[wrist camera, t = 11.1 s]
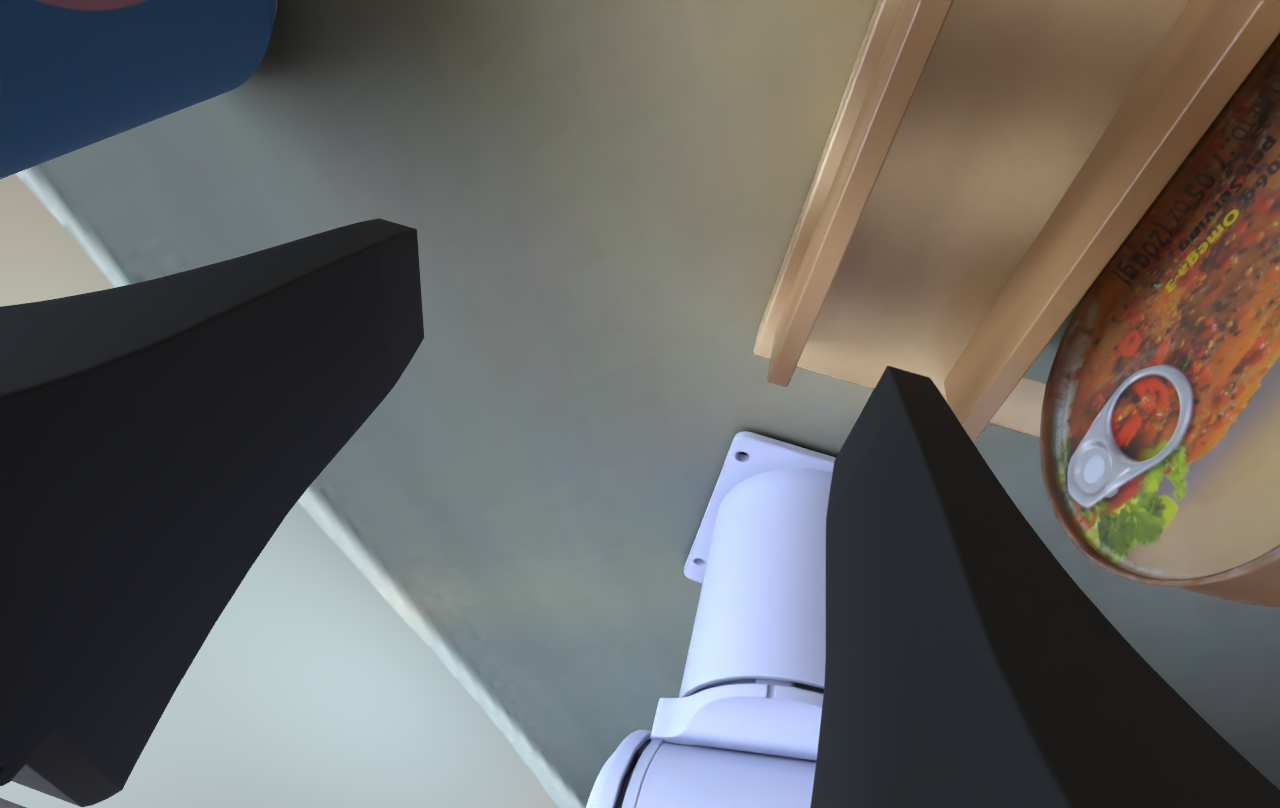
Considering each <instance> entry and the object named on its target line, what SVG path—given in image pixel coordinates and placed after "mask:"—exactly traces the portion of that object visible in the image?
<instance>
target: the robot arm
mask: <svg viewBox="0 0 1280 808" xmlns="http://www.w3.org/2000/svg"><path fill="white" fill-rule="evenodd" d="M423 339H424V329H423V314H422V300H421V285H420V270H419V256H418V241H417V229H414V228H410V227H407V226H403V225H400V224H396V223H393V222H390V221H386V220H383V219H374V220H369V221H364V222H359V223H355V224H351V225H347V226H344V227H340V228H336V229H333V230H329V231H326V232H323V233H319V234H316V235H312V236H309V237H306V238H302V239H299V240H296V241H292V242H289V243H285V244H282V245H279V246H275V247H272V248H269V249H265V250H262V251H258V252H255V253H252V254H248V255H245V256H241V257H238V258H234V259H231V260H227V261H223V262H219V263H215V264H211V265H208V266H204V267H200V268H196V269H192V270H188V271H185V272H181V273H177V274H173V275H169V276H165V277H162V278H158V279H153V280H149V281H145V282H140V283H136V284H131V285H127V286H122V287H117V288H113V289H107V290H102V291H97V292H91V293H86V294H80V295H75V296H70V297H64V298H59V299H53V300H47V301H41V302H34V303H26V304H19V305H11V306H4V307H0V786H3V785H5V784H7V783H9V782H10V781H13V782H16V783H19V784H21V785H24V786H27V787H29V788H32V789H35V790H37V791H40V792H43V793H46V794H48V795H51V796H54V797H56V798H59V799H62V800H64V801H67V802H70V803H72V804H75V805H78V806H81V807H85V806H90V805H93V804H96V803H98V802H100V801H103V800H105V799H108V798H109V797H111V796H113V795H114V794H116V793H118V792H119V791H121V790H122V789H123V787H124V785H125V783H126V781H127V779H128V777H129V775H130V774H131V772H132V770H133V768H134V766H135V764H136V762H137V760H138V758H139V756H140V754H141V752H142V751H143V749H144V747H145V745H146V743H147V742H148V740H149V738H150V736H151V734H152V732H153V730H154V729H155V727H156V725H157V723H158V721H159V719H160V718H161V716H162V714H163V712H164V710H165V708H166V707H167V705H168V703H169V701H170V699H171V697H172V696H173V694H174V692H175V690H176V688H177V687H178V685H179V683H180V682H181V679H182V678H183V677H184V675H185V673H186V671H187V670H188V668H189V666H190V665H191V663H192V661H193V659H194V658H195V656H196V655H197V653H198V651H199V649H200V648H201V646H202V644H203V643H204V641H205V639H206V638H207V636H208V634H209V633H210V631H211V629H212V628H213V626H214V624H215V622H216V621H217V619H218V618H219V616H220V615H221V613H222V612H223V610H224V608H225V606H226V605H227V604H228V602H229V601H230V599H231V597H232V596H233V594H234V593H235V591H236V590H237V588H238V586H239V585H240V583H241V582H242V580H243V579H244V577H245V575H246V574H247V572H248V571H249V569H250V568H251V566H252V565H253V563H254V562H255V560H256V559H257V557H258V556H259V554H260V553H261V551H262V550H263V549H264V547H265V546H266V544H267V542H268V541H269V540H270V538H271V537H272V535H273V534H274V532H275V531H276V530H277V528H278V527H279V525H280V524H281V522H282V521H283V519H284V518H285V516H286V515H287V514H288V512H289V511H290V509H291V508H292V507H293V506H294V504H295V503H296V502H297V501H298V499H299V498H300V497H301V496H302V494H303V493H304V492H305V490H306V489H307V488H308V487H309V486H310V484H311V483H312V482H313V481H314V480H315V479H316V478H317V476H318V475H319V474H320V473H321V472H322V471H323V469H324V468H325V467H326V466H327V465H328V464H329V462H330V461H331V460H332V459H333V458H334V457H335V455H336V454H337V453H338V452H339V451H340V450H341V448H342V447H343V446H344V445H345V444H346V443H347V441H348V440H349V439H350V438H351V437H352V436H353V435H354V433H355V432H356V431H357V430H358V429H359V428H360V426H361V425H362V424H363V423H364V422H365V421H366V419H367V418H368V417H369V416H370V415H371V413H372V412H373V411H374V410H375V409H376V408H377V406H378V405H379V404H380V403H381V402H382V400H383V399H384V398H385V397H386V396H387V394H388V393H389V392H390V391H391V389H392V388H393V387H394V386H395V384H396V383H397V381H398V379H399V378H400V376H401V375H402V373H403V372H404V370H405V369H406V367H407V366H408V364H409V362H410V361H411V359H412V357H413V356H414V354H415V352H416V350H417V349H418V347H419V345H420V344H421V342H422V340H423ZM738 452H745V453H747V454H746V455H743V454H740V453H738ZM684 574H685V576H687V577H688V578H689V579H691V580H694V581H697V582H701V583H703V585H702V590H701V595H700V600H699V604H698V609H697V614H696V619H695V623H694V628H693V633H692V638H691V643H690V647H689V652H688V657H687V662H686V667H685V671H684V676H683V681H682V686H681V691H680V695H679V698H660V699H659V703H658V707H657V711H656V715H655V720H654V724H653V728H652V731H648V730H638V731H635V732H632V733H631V734H630V735H628V736H627V737H626V738H625V739H624V740H623V741H622V743H621V744H620V745H619V746H618V748H617V749H616V751H615V752H614V753H613V754H612V755H611V756H610V757H609V759H608V760H607V761H606V763H605V764H604V766H603V768H602V769H601V771H600V773H599V775H598V777H597V779H596V782H595V784H594V786H593V789H592V791H591V794H590V797H589V800H588V803H587V807H586V808H1280V790H1279V789H1278V788H1277V787H1276V786H1275V785H1273V784H1272V783H1271V782H1270V781H1269V780H1268V779H1267V778H1266V777H1264V776H1263V775H1262V774H1261V773H1260V772H1259V771H1258V770H1257V769H1256V768H1255V767H1254V766H1252V765H1251V764H1250V763H1249V762H1248V761H1247V760H1246V759H1245V758H1244V757H1243V756H1242V755H1241V754H1240V753H1239V752H1237V751H1236V750H1235V749H1234V748H1233V747H1232V746H1231V745H1230V744H1229V743H1228V742H1227V741H1226V740H1225V739H1224V738H1222V737H1221V736H1220V735H1219V734H1218V733H1217V732H1216V731H1215V730H1214V729H1213V728H1212V727H1211V726H1210V725H1209V724H1208V723H1207V722H1206V721H1205V720H1204V719H1203V718H1202V717H1201V716H1200V715H1199V714H1198V713H1197V712H1196V711H1195V710H1194V709H1193V708H1192V707H1191V706H1190V705H1189V704H1188V703H1187V702H1186V701H1185V700H1184V699H1183V698H1182V697H1181V696H1180V695H1179V694H1178V693H1177V692H1176V691H1175V690H1174V689H1173V688H1172V687H1171V686H1170V685H1169V684H1168V683H1167V682H1166V681H1165V680H1164V679H1163V678H1162V677H1161V676H1160V675H1159V674H1158V673H1157V672H1156V671H1155V670H1154V669H1153V668H1152V667H1151V666H1150V665H1149V664H1148V663H1147V662H1146V661H1145V660H1144V659H1143V658H1142V657H1141V656H1140V655H1139V654H1138V653H1137V652H1136V650H1135V649H1134V648H1133V647H1132V646H1131V645H1130V644H1129V643H1128V642H1127V641H1126V640H1125V639H1124V638H1123V637H1122V636H1121V634H1120V633H1119V632H1118V631H1117V630H1116V629H1115V628H1114V626H1113V625H1112V624H1111V623H1110V622H1109V621H1108V620H1107V618H1106V617H1105V616H1104V615H1103V614H1102V613H1101V612H1100V611H1099V609H1098V608H1097V607H1096V606H1095V605H1094V604H1093V603H1092V601H1091V600H1090V599H1089V598H1088V597H1087V596H1086V595H1085V594H1084V592H1083V591H1082V590H1081V589H1080V588H1079V587H1078V585H1077V584H1076V583H1075V582H1074V581H1073V579H1072V578H1071V577H1070V576H1069V575H1068V573H1067V572H1066V571H1065V570H1064V568H1063V567H1062V566H1061V565H1060V564H1059V562H1058V561H1057V560H1056V559H1055V557H1054V556H1053V555H1052V553H1051V552H1050V551H1049V549H1048V548H1047V547H1046V545H1045V544H1044V543H1043V542H1042V540H1041V539H1040V538H1039V536H1038V535H1037V534H1036V532H1035V531H1034V530H1033V528H1032V527H1031V526H1030V524H1029V523H1028V522H1027V521H1026V519H1025V518H1024V516H1023V515H1022V514H1021V512H1020V511H1019V510H1018V508H1017V507H1016V505H1015V504H1014V503H1013V501H1012V500H1011V498H1010V497H1009V496H1008V494H1007V493H1006V491H1005V490H1004V488H1003V487H1002V485H1001V484H1000V483H999V481H998V480H997V478H996V477H995V475H994V474H993V472H992V471H991V469H990V468H989V466H988V465H987V463H986V462H985V460H984V459H983V457H982V456H981V454H980V453H979V451H978V450H977V448H976V447H975V445H974V444H973V442H972V440H971V439H970V437H969V436H968V434H967V433H966V431H965V430H964V428H963V426H962V425H961V423H960V422H959V420H958V419H957V417H956V416H955V414H954V412H953V411H952V409H951V408H950V406H949V405H948V403H947V402H946V400H945V399H944V397H943V396H942V394H941V393H940V391H939V390H938V388H937V387H936V385H935V384H934V383H933V381H932V380H931V378H929V377H926V376H922V375H919V374H915V373H912V372H909V371H905V370H902V369H898V368H895V367H891V366H888V365H887V367H886V369H885V371H884V373H883V374H882V376H881V378H880V380H879V382H878V383H877V385H876V387H875V389H874V391H873V392H872V394H871V396H870V398H869V400H868V402H867V403H866V405H865V407H864V409H863V411H862V412H861V414H860V416H859V418H858V420H857V421H856V423H855V425H854V427H853V429H852V430H851V432H850V434H849V436H848V438H847V439H846V441H845V443H844V445H843V447H842V448H841V450H840V452H839V454H838V456H837V458H835V457H832V456H829V455H825V454H822V453H819V452H815V451H812V450H809V449H805V448H802V447H799V446H795V445H792V444H789V443H786V442H782V441H779V440H776V439H772V438H769V437H766V436H762V435H759V434H756V433H752V432H747V431H744V432H740V433H738V434H736V436H735V437H734V439H733V442H732V444H731V447H730V450H729V452H728V455H727V457H726V460H725V463H724V465H723V468H722V470H721V473H720V476H719V478H718V481H717V483H716V486H715V489H714V491H713V494H712V496H711V499H710V502H709V504H708V507H707V509H706V512H705V515H704V517H703V520H702V522H701V525H700V528H699V530H698V533H697V535H696V538H695V541H694V543H693V546H692V548H691V551H690V554H689V556H688V559H687V561H686V564H685V568H684ZM0 808H26V807H23V806H20V805H18V804H15V803H12V802H10V801H7V800H4V799H1V798H0Z"/></svg>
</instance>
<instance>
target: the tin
mask: <svg viewBox="0 0 1280 808" xmlns="http://www.w3.org/2000/svg"><path fill="white" fill-rule="evenodd" d="M1040 455H1041V467H1042V475H1043V480H1044V485H1045V488H1046V492H1047V496H1048V499H1049V501H1050V503H1051V505H1052V509H1053V512H1054V514H1055V516H1056V518H1057V520H1058V522H1059V523H1060V525H1061V526H1062V528H1063V530H1064V531H1065V533H1066V534H1067V535H1068V537H1069V538H1070V539H1071V541H1072V542H1073V543H1074V544H1075V545H1076V546H1077V547H1078V549H1079V550H1080V551H1081V552H1082V553H1083V554H1084V555H1085V556H1086V557H1088V558H1089V559H1090V560H1091V561H1093V562H1094V563H1096V564H1097V565H1099V566H1101V567H1102V568H1104V569H1106V570H1108V571H1110V572H1112V573H1114V574H1116V575H1118V576H1121V577H1123V578H1126V579H1129V580H1132V581H1135V582H1139V583H1144V584H1149V585H1156V586H1168V587H1178V588H1183V589H1187V590H1190V591H1194V592H1198V593H1202V594H1206V595H1210V596H1214V597H1218V598H1223V599H1227V600H1232V601H1236V602H1241V603H1247V604H1252V605H1260V606H1269V607H1278V608H1280V34H1279V35H1278V37H1277V38H1276V39H1275V41H1274V42H1273V43H1272V45H1271V46H1270V47H1269V49H1268V50H1267V52H1266V53H1265V54H1264V56H1263V57H1262V58H1261V60H1260V61H1259V62H1258V64H1257V65H1256V66H1255V68H1254V69H1253V70H1252V71H1251V73H1250V74H1249V75H1248V77H1247V78H1246V79H1245V81H1244V82H1243V84H1242V85H1241V86H1240V88H1239V89H1238V90H1237V92H1236V93H1235V94H1234V96H1233V97H1232V99H1231V100H1230V101H1229V103H1228V104H1227V105H1226V106H1225V108H1224V109H1223V110H1222V112H1221V113H1220V115H1219V116H1218V117H1217V119H1216V120H1215V121H1214V122H1213V124H1212V125H1211V126H1210V128H1209V129H1208V131H1207V132H1206V134H1205V135H1204V136H1203V137H1202V138H1201V140H1200V141H1199V142H1198V144H1197V145H1196V146H1195V148H1194V149H1193V151H1192V152H1191V153H1190V155H1189V156H1188V157H1187V159H1186V160H1185V161H1184V163H1183V164H1182V165H1181V167H1180V168H1179V169H1178V171H1177V172H1176V174H1175V175H1174V176H1173V178H1172V179H1171V180H1170V181H1169V183H1168V184H1167V185H1166V186H1165V188H1164V189H1163V190H1162V191H1161V193H1160V194H1159V195H1158V197H1157V198H1156V199H1155V201H1154V202H1153V203H1152V205H1151V206H1150V207H1149V209H1148V210H1147V212H1146V213H1145V214H1144V216H1143V217H1142V218H1141V220H1140V221H1139V222H1138V224H1137V225H1136V226H1135V228H1134V229H1133V230H1132V231H1131V233H1130V234H1129V235H1128V237H1127V238H1126V239H1125V241H1124V242H1123V243H1122V245H1121V246H1120V248H1119V249H1118V250H1117V252H1116V253H1115V254H1114V256H1113V257H1112V258H1111V260H1110V261H1109V262H1108V264H1107V265H1106V266H1105V268H1104V269H1103V270H1102V272H1101V273H1100V274H1099V276H1098V277H1097V278H1096V280H1095V281H1094V282H1093V284H1092V285H1091V287H1090V288H1089V289H1088V291H1087V292H1086V294H1085V295H1084V297H1083V298H1082V300H1081V302H1080V304H1079V305H1078V307H1077V309H1076V311H1075V312H1074V314H1073V316H1072V318H1071V320H1070V322H1069V325H1068V327H1067V329H1066V331H1065V333H1064V335H1063V337H1062V340H1061V342H1060V344H1059V347H1058V349H1057V352H1056V355H1055V357H1054V360H1053V364H1052V367H1051V370H1050V373H1049V376H1048V380H1047V383H1046V388H1045V394H1044V399H1043V404H1042V413H1041V424H1040Z"/></svg>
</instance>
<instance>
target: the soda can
mask: <svg viewBox="0 0 1280 808" xmlns="http://www.w3.org/2000/svg"><path fill="white" fill-rule="evenodd" d="M276 10H277V0H0V179H2V178H4V177H7V176H9V175H12V174H15V173H17V172H20V171H22V170H25V169H28V168H30V167H33V166H36V165H38V164H41V163H43V162H46V161H49V160H51V159H54V158H56V157H59V156H62V155H64V154H67V153H69V152H72V151H75V150H77V149H80V148H82V147H85V146H88V145H90V144H93V143H95V142H98V141H101V140H103V139H106V138H108V137H111V136H114V135H116V134H119V133H121V132H124V131H127V130H129V129H132V128H134V127H137V126H140V125H142V124H145V123H147V122H150V121H153V120H155V119H158V118H160V117H163V116H166V115H168V114H171V113H173V112H176V111H179V110H181V109H184V108H186V107H189V106H192V105H194V104H197V103H199V102H202V101H205V100H207V99H210V98H212V97H215V96H218V95H220V94H223V93H225V92H228V91H231V90H233V89H235V88H237V87H239V86H240V85H242V84H243V83H244V82H246V81H247V80H248V79H249V78H250V77H251V76H252V75H253V73H254V72H255V71H256V70H257V68H258V66H259V65H260V63H261V61H262V59H263V57H264V55H265V53H266V50H267V47H268V44H269V41H270V37H271V33H272V29H273V25H274V21H275V16H276Z"/></svg>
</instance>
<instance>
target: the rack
mask: <svg viewBox="0 0 1280 808" xmlns="http://www.w3.org/2000/svg"><path fill="white" fill-rule="evenodd" d="M1279 34H1280V0H878V1H877V4H876V7H875V9H874V12H873V15H872V18H871V21H870V23H869V26H868V29H867V32H866V34H865V37H864V40H863V43H862V45H861V48H860V51H859V54H858V56H857V59H856V62H855V65H854V67H853V70H852V73H851V76H850V78H849V81H848V84H847V87H846V90H845V92H844V95H843V98H842V101H841V103H840V106H839V109H838V112H837V114H836V117H835V120H834V123H833V125H832V128H831V131H830V134H829V136H828V139H827V142H826V145H825V147H824V150H823V153H822V156H821V159H820V161H819V164H818V167H817V170H816V172H815V175H814V178H813V181H812V183H811V186H810V189H809V192H808V194H807V197H806V200H805V203H804V205H803V208H802V211H801V214H800V216H799V219H798V222H797V225H796V228H795V230H794V233H793V236H792V239H791V241H790V244H789V247H788V250H787V252H786V255H785V258H784V261H783V263H782V266H781V269H780V272H779V274H778V277H777V280H776V283H775V285H774V288H773V291H772V294H771V297H770V299H769V302H768V305H767V308H766V310H765V313H764V316H763V319H762V321H761V324H760V327H759V330H758V332H757V337H756V342H755V346H754V354H756V355H759V356H763V357H766V358H770V365H769V371H768V376H767V381H768V382H769V383H773V384H776V385H780V386H783V387H787V386H788V384H789V382H790V380H791V377H792V375H793V373H794V370H795V368H796V366H797V367H800V368H804V369H807V370H811V371H814V372H818V373H821V374H824V375H828V376H831V377H835V378H838V379H842V380H845V381H848V382H852V383H855V384H859V385H862V386H866V387H869V388H872V389H875V387H876V385H877V383H878V382H879V380H880V378H881V376H882V374H883V373H884V371H885V369H886V367H887V365H888V366H891V367H895V368H898V369H902V370H905V371H909V372H912V373H915V374H919V375H922V376H926V377H929V378H931V380H932V381H933V383H934V384H935V385H936V387H937V388H938V390H939V391H940V393H941V394H942V396H943V397H944V399H945V400H946V402H947V403H948V405H949V406H950V408H951V409H952V411H953V412H954V414H955V416H956V417H957V419H958V420H959V422H960V423H961V425H962V426H963V428H964V430H965V431H966V433H967V434H968V436H969V437H970V439H971V440H972V442H974V441H975V440H976V439H977V437H978V436H979V435H980V433H981V432H982V431H983V429H984V428H985V427H986V425H987V424H988V423H992V424H996V425H999V426H1002V427H1006V428H1009V429H1013V430H1016V431H1020V432H1023V433H1026V434H1030V435H1033V436H1037V437H1040V424H1041V413H1042V404H1043V399H1044V394H1045V388H1046V383H1047V380H1048V376H1049V373H1050V370H1051V367H1052V364H1053V360H1054V357H1055V355H1056V352H1057V349H1058V347H1059V344H1060V342H1061V340H1062V337H1063V335H1064V333H1065V331H1066V329H1067V327H1068V325H1069V322H1070V320H1071V318H1072V316H1073V314H1074V312H1075V311H1076V309H1077V307H1078V305H1079V304H1080V302H1081V300H1082V298H1083V297H1084V295H1085V294H1086V292H1087V291H1088V289H1089V288H1090V287H1091V285H1092V284H1093V282H1094V281H1095V280H1096V278H1097V277H1098V276H1099V274H1100V273H1101V272H1102V270H1103V269H1104V268H1105V266H1106V265H1107V264H1108V262H1109V261H1110V260H1111V258H1112V257H1113V256H1114V254H1115V253H1116V252H1117V250H1118V249H1119V248H1120V246H1121V245H1122V243H1123V242H1124V241H1125V239H1126V238H1127V237H1128V235H1129V234H1130V233H1131V231H1132V230H1133V229H1134V228H1135V226H1136V225H1137V224H1138V222H1139V221H1140V220H1141V218H1142V217H1143V216H1144V214H1145V213H1146V212H1147V210H1148V209H1149V207H1150V206H1151V205H1152V203H1153V202H1154V201H1155V199H1156V198H1157V197H1158V195H1159V194H1160V193H1161V191H1162V190H1163V189H1164V188H1165V186H1166V185H1167V184H1168V183H1169V181H1170V180H1171V179H1172V178H1173V176H1174V175H1175V174H1176V172H1177V171H1178V169H1179V168H1180V167H1181V165H1182V164H1183V163H1184V161H1185V160H1186V159H1187V157H1188V156H1189V155H1190V153H1191V152H1192V151H1193V149H1194V148H1195V146H1196V145H1197V144H1198V142H1199V141H1200V140H1201V138H1202V137H1203V136H1204V135H1205V134H1206V132H1207V131H1208V129H1209V128H1210V126H1211V125H1212V124H1213V122H1214V121H1215V120H1216V119H1217V117H1218V116H1219V115H1220V113H1221V112H1222V110H1223V109H1224V108H1225V106H1226V105H1227V104H1228V103H1229V101H1230V100H1231V99H1232V97H1233V96H1234V94H1235V93H1236V92H1237V90H1238V89H1239V88H1240V86H1241V85H1242V84H1243V82H1244V81H1245V79H1246V78H1247V77H1248V75H1249V74H1250V73H1251V71H1252V70H1253V69H1254V68H1255V66H1256V65H1257V64H1258V62H1259V61H1260V60H1261V58H1262V57H1263V56H1264V54H1265V53H1266V52H1267V50H1268V49H1269V47H1270V46H1271V45H1272V43H1273V42H1274V41H1275V39H1276V38H1277V37H1278V35H1279Z"/></svg>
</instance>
